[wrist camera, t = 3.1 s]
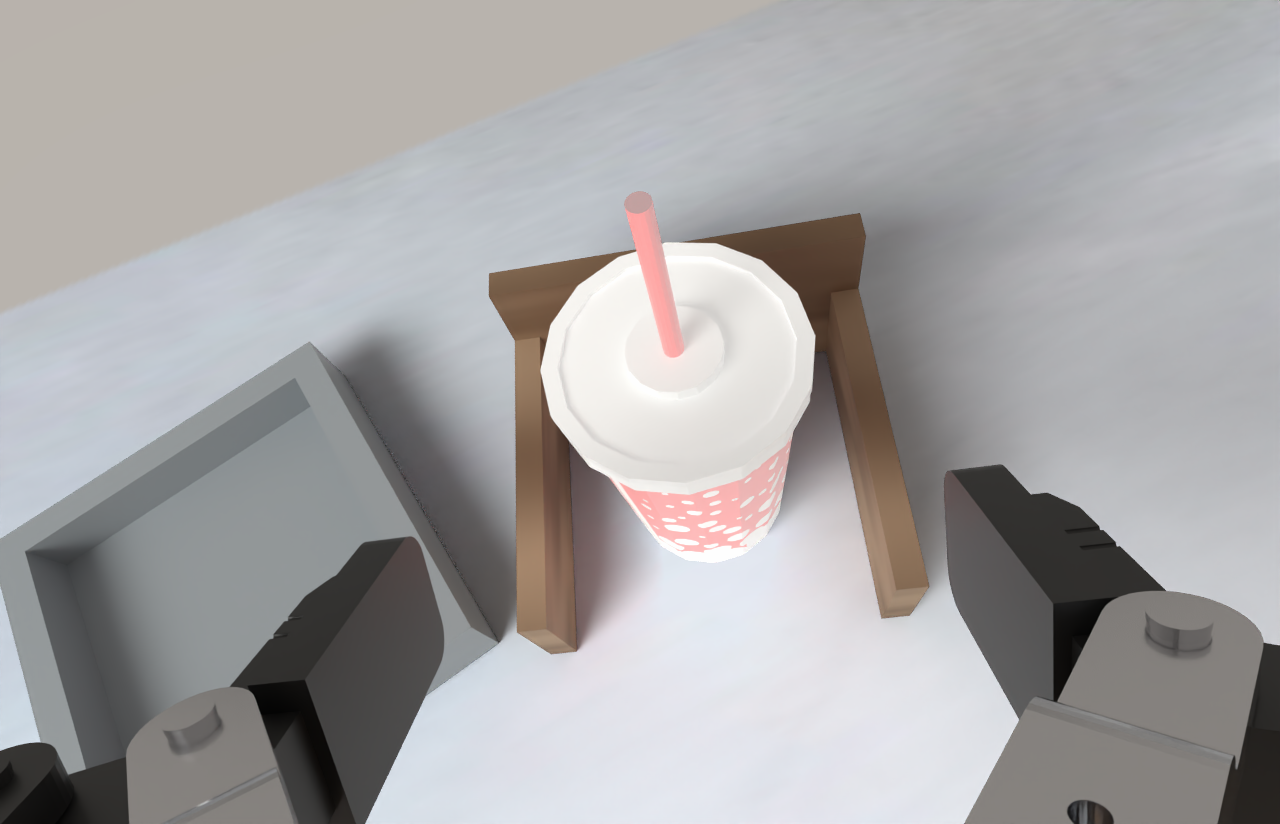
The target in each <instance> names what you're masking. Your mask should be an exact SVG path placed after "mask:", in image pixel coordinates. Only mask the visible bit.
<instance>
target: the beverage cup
mask: <svg viewBox="0 0 1280 824" xmlns="http://www.w3.org/2000/svg"><path fill="white" fill-rule="evenodd" d="M624 206H625V209H626V213H627V217H628V221H629V224H630V228H631V232H632V236H633V239H634V243H635V247H636V252H633V253H630V254H627V255H623V256H620V257H618V258H616V259H615V260H613V261H612V262H611V263H609V264H608V265H606V266H605V267H603V268H602V269H601V270H599V271H598V272H596V273H595V274H594V275H592V276H591V277H589V278H588V279H587V280H585V281H584V282H582V283H581V284H579V285H578V286H577V288H576V289H575V290H574V292H573V293H572V295H571V296H570V298H569V299H568V300H567V302H566V303H565V305H564V306H563V308H562V309H561V310H560V312H559V313H558V315H557V316H556V318H555V319H554V321H553V322H552V323H551V325H550V329H549V334H548V338H547V343H546V347H545V352H544V356H543V361H542V365H541V370H540V371H541V375H542V380H543V384H544V389H545V393H546V398H547V402H548V407H549V411H550V416H551V418H552V419H553V421H554V422H555V423H556V425H557V426H558V427H559V428H560V430H561V431H562V432H563V434H564V435H565V436H566V438H567V439H568V440H569V441H570V443H571V444H572V445H573V446H574V448H575V449H576V450H577V451H578V453H579V454H580V455H581V456H582V458H583V459H584V460H585V462H586V463H587V464H588V465H589V467H591V468H593V469H595V470H597V471H599V472H600V473H602V474H604V475H606V476H608V477H609V478H610V479H611V481H612V482H613V483H614V485H615V486H616V487H617V489H618V490H619V492H620V493H621V494H622V496H623V497H624V498H625V500H626V501H627V502H628V504H629V505H630V506H631V508H632V509H633V510H634V512H635V513H636V514H637V516H638V517H639V518H640V520H641V521H642V522H643V524H644V525H645V526H646V528H647V529H648V530H649V531H650V533H651V534H652V535H653V536H654V538H655V539H656V540H657V541H658V543H659V544H660V545H661V546H662V547H663V548H665V549H667V550H669V551H671V552H673V553H675V554H676V555H678V556H680V557H682V558H684V559H686V560H692V561H702V562H712V563H717V562H720V561H723V560H727V559H730V558H734V557H737V556H740V555H744V554H745V553H746V552H747V551H749V550H750V549H751V548H752V547H754V546H755V545H756V544H757V543H759V542H760V541H761V540H762V539H764V538H765V537H766V536H767V534H768V532H769V530H770V528H771V526H772V525H773V523H774V521H775V519H776V517H777V515H778V513H779V510H780V505H781V499H782V493H783V488H784V482H785V476H786V470H787V465H788V459H789V453H790V447H791V442H792V436H793V431H794V429H795V428H796V426H797V424H798V422H799V420H800V418H801V417H802V415H803V413H804V411H805V409H806V408H807V406H808V404H809V402H810V394H811V392H812V383H813V367H814V351H815V334H814V331H813V329H812V327H811V324H810V322H809V320H808V317H807V315H806V312H805V310H804V308H803V305H802V303H801V301H800V298H799V296H798V293H797V292H796V291H795V290H794V289H793V288H792V287H791V286H789V285H788V284H787V283H786V282H785V281H784V280H783V279H782V278H781V277H780V276H778V275H777V274H776V273H775V272H774V271H773V270H772V269H771V268H770V267H769V266H768V265H766V264H765V263H764V262H763V261H762V260H759V259H757V258H754V257H751V256H749V255H746V254H743V253H741V252H738V251H735V250H733V249H730V248H727V247H725V246H722V245H719V244H717V243H671V242H666V243H663V244H662V242H661V237H660V233H659V228H658V224H657V219H656V215H655V210H654V205H653V201H652V198H651V196H650V195H649V194H648V193H646V192H642V191H637V192H634V193H632V194H630V195H629V196H628V197H627V198H626V200H625V203H624Z"/></svg>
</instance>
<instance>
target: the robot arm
mask: <svg viewBox="0 0 1280 824" xmlns="http://www.w3.org/2000/svg"><path fill="white" fill-rule="evenodd" d="M944 498H945V519H946V539H947V559H948V573H949V580H950V585H951V589H952V593H953V597H954V600H955V603H956V606H957V608H958V610H959V612H960V614H961V616H962V618H963V619H964V621H965V623H966V625H967V627H968V628H969V630H970V632H971V634H972V636H973V637H974V639H975V641H976V643H977V645H978V646H979V648H980V650H981V652H982V654H983V655H984V657H985V659H986V661H987V662H988V664H989V666H990V668H991V670H992V671H993V673H994V675H995V677H996V679H997V680H998V682H999V684H1000V686H1001V688H1002V689H1003V691H1004V693H1005V695H1006V697H1007V698H1008V700H1009V702H1010V704H1011V705H1012V707H1013V709H1014V711H1015V713H1016V714H1017V716H1018V718H1019V722H1018V724H1017V726H1016V728H1015V729H1014V731H1013V733H1012V735H1011V737H1010V739H1009V741H1008V743H1007V744H1006V746H1005V748H1004V750H1003V752H1002V754H1001V756H1000V758H999V759H998V761H997V763H996V765H995V767H994V769H993V771H992V773H991V774H990V776H989V778H988V780H987V782H986V784H985V786H984V788H983V789H982V791H981V793H980V795H979V797H978V799H977V801H976V803H975V804H974V806H973V808H972V810H971V812H970V814H969V816H968V818H967V819H966V821H965V823H964V824H1280V645H1273V644H1267V643H1263V638H1262V635H1261V632H1260V631H1259V630H1258V628H1257V627H1256V626H1255V625H1254V624H1253V623H1252V622H1251V621H1250V620H1249V619H1248V618H1246V617H1245V616H1244V615H1242V614H1241V613H1239V612H1237V611H1236V610H1234V609H1232V608H1230V607H1228V606H1226V605H1223V604H1221V603H1218V602H1216V601H1213V600H1210V599H1207V598H1204V597H1200V596H1195V595H1191V594H1185V593H1179V592H1170V591H1166V590H1165V589H1164V588H1163V587H1162V586H1161V585H1160V584H1159V583H1157V582H1156V581H1155V580H1154V579H1153V578H1152V577H1151V576H1150V575H1149V574H1148V573H1147V572H1146V571H1145V570H1144V569H1143V568H1142V567H1141V566H1140V565H1139V564H1138V563H1137V562H1136V561H1135V560H1134V559H1133V558H1132V557H1131V556H1130V555H1128V554H1127V553H1126V552H1125V551H1124V550H1123V549H1122V548H1121V547H1120V546H1118V547H1117V546H1116V542H1115V541H1114V540H1113V539H1112V538H1111V537H1110V536H1109V535H1108V534H1107V533H1106V532H1105V531H1104V530H1100V529H1099V526H1098V525H1097V524H1096V523H1095V522H1094V521H1093V520H1092V519H1091V518H1090V517H1089V516H1088V515H1087V514H1086V513H1085V512H1084V511H1083V510H1082V509H1081V508H1080V507H1078V506H1076V505H1073V504H1071V503H1069V502H1067V501H1064V500H1062V499H1060V498H1058V497H1056V496H1053V495H1051V494H1049V493H1040V494H1032V495H1031V494H1030V493H1029V492H1028V491H1027V490H1026V489H1025V488H1024V487H1023V486H1022V485H1021V484H1020V483H1019V482H1018V480H1017V479H1016V478H1015V477H1014V476H1013V475H1012V474H1011V473H1010V472H1009V471H1008V470H1007V469H1006V468H1005V467H1004V466H1003V465H1001V464H1000V465H992V466H984V467H976V468H968V469H960V470H952V471H947V473H946V475H945V480H944ZM443 653H444V629H443V623H442V619H441V615H440V612H439V608H438V605H437V601H436V598H435V594H434V591H433V587H432V583H431V580H430V576H429V573H428V569H427V566H426V562H425V559H424V555H423V552H422V549H421V546H420V544H419V543H418V541H417V540H416V539H415V538H414V537H412V536H408V537H400V538H392V539H384V540H376V541H368V542H364V543H362V544H361V545H360V546H359V548H358V549H357V550H356V551H355V553H354V554H353V555H352V556H351V558H350V559H349V560H348V561H347V562H346V564H345V565H344V566H343V567H342V569H341V570H340V571H339V572H338V574H337V575H336V576H333V577H332V578H330V579H329V580H327V581H326V582H324V583H323V584H322V585H320V586H319V587H317V588H316V589H315V590H313V591H312V592H310V593H309V594H308V595H306V596H305V597H304V598H303V599H302V601H301V602H300V603H299V604H298V605H297V607H296V608H295V609H294V610H293V611H292V613H291V614H290V615H289V616H288V621H284V622H283V623H282V624H281V626H280V627H279V628H278V629H277V630H276V632H275V633H274V634H273V639H269V640H268V641H267V642H266V644H265V645H264V646H263V647H262V648H261V650H260V651H259V652H258V653H257V654H256V656H255V657H254V658H253V659H252V660H251V662H250V663H249V664H248V665H247V666H246V667H245V669H244V670H243V671H242V672H241V673H240V675H239V676H238V677H237V678H236V679H235V681H234V682H233V683H232V684H231V685H230V687H225V688H218V689H213V690H209V691H206V692H202V693H199V694H196V695H194V696H191V697H189V698H187V699H185V700H182V701H180V702H178V703H176V704H174V705H173V706H171V707H169V708H167V709H166V710H164V711H163V712H161V713H160V714H158V715H157V716H155V717H154V718H153V719H152V720H150V721H149V722H148V723H147V724H146V725H145V726H143V727H142V728H141V729H140V730H139V731H138V733H137V734H136V735H135V736H134V737H133V739H132V740H131V742H130V744H129V746H128V748H127V753H126V757H124V758H121V759H117V760H114V761H111V762H108V763H104V764H101V765H98V766H95V767H91V768H88V769H85V770H81V771H78V772H75V773H72V774H68V773H67V771H66V769H65V767H64V765H63V763H62V761H61V759H60V757H59V755H58V753H57V751H56V749H55V747H53V746H52V745H50V744H47V743H39V742H37V743H27V744H22V745H18V746H14V747H11V748H7V749H4V750H2V751H0V824H365V822H366V820H367V818H368V816H369V814H370V812H371V810H372V808H373V806H374V803H375V801H376V799H377V797H378V795H379V793H380V791H381V789H382V787H383V784H384V782H385V780H386V778H387V776H388V774H389V772H390V770H391V768H392V766H393V763H394V761H395V759H396V757H397V755H398V753H399V751H400V749H401V747H402V744H403V742H404V740H405V738H406V736H407V734H408V732H409V730H410V728H411V725H412V723H413V721H414V719H415V717H416V715H417V713H418V711H419V709H420V706H421V704H422V702H423V700H424V698H425V696H426V694H427V692H428V690H429V688H430V685H431V683H432V681H433V679H434V677H435V675H436V673H437V671H438V669H439V666H440V664H441V662H442V658H443Z"/></svg>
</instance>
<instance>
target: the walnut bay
mask: <svg viewBox="0 0 1280 824" xmlns="http://www.w3.org/2000/svg"><path fill="white" fill-rule="evenodd" d="M865 238H866V235H865V231H864V227H863V223H862V219H861V215H860V213H858V214H852V215H845V216H839V217H833V218H827V219H821V220H815V221H809V222H802V223H796V224H790V225H784V226H778V227H772V228H766V229H759V230H753V231H747V232H741V233H735V234H729V235H723V236H716V237H710V238H704V239H698V240H692V241H686V242H679V243H717V244H719V245H722V246H725V247H727V248H730V249H733V250H735V251H738V252H741V253H743V254H746V255H749V256H751V257H754V258H757V259H759V260H762V261H763V262H764V263H765V264H766V265H768V266H769V267H770V268H771V269H772V270H773V271H774V272H775V273H776V274H777V275H778V276H780V277H781V278H782V279H783V280H784V281H785V282H786V283H787V284H788V285H789V286H791V287H792V288H793V289H794V290H795V291H796V292H797V293H798V296H799V298H800V301H801V303H802V305H803V308H804V310H805V312H806V315H807V317H808V320H809V322H810V324H811V327H812V329H813V331H814V334H815V351H814V353H815V352H822V351H826V354H827V359H828V364H829V368H830V373H831V378H832V383H833V388H834V392H835V397H836V402H837V407H838V412H839V416H840V421H841V426H842V431H843V436H844V441H845V445H846V450H847V455H848V460H849V465H850V469H851V474H852V479H853V484H854V489H855V493H856V498H857V503H858V508H859V513H860V518H861V522H862V527H863V532H864V537H865V542H866V546H867V551H868V556H869V561H870V566H871V570H872V575H873V580H874V585H875V590H876V595H877V599H878V604H879V609H880V614H881V619H882V618H891V617H900V616H910V614H911V613H912V611H913V610H914V608H915V607H916V606H917V604H918V603H919V601H920V600H921V598H922V597H923V595H924V594H925V592H926V591H927V589H928V588H929V583H928V579H927V575H926V571H925V566H924V562H923V558H922V554H921V550H920V545H919V541H918V537H917V533H916V529H915V524H914V520H913V516H912V512H911V508H910V503H909V499H908V495H907V491H906V487H905V482H904V478H903V474H902V470H901V466H900V461H899V457H898V453H897V449H896V445H895V440H894V436H893V432H892V428H891V424H890V420H889V415H888V411H887V407H886V403H885V399H884V394H883V390H882V386H881V382H880V378H879V373H878V369H877V365H876V361H875V357H874V352H873V348H872V344H871V340H870V336H869V331H868V327H867V323H866V319H865V315H864V310H863V306H862V302H861V298H860V294H859V289H858V287H859V280H860V273H861V266H862V259H863V252H864V245H865ZM633 252H636V250H630V251H624V252H618V253H612V254H606V255H600V256H593V257H587V258H581V259H575V260H569V261H563V262H557V263H550V264H544V265H538V266H532V267H526V268H520V269H514V270H507V271H501V272H495V273H489V297H490V299H491V301H492V302H493V304H494V306H495V308H496V309H497V311H498V313H499V314H500V316H501V318H502V320H503V321H504V323H505V325H506V326H507V328H508V330H509V332H510V333H511V335H512V337H513V338H514V340H515V420H516V572H517V633H519V634H520V635H522V636H523V637H525V638H527V639H528V640H530V641H531V642H533V643H534V644H536V645H538V646H539V647H541V648H542V649H544V650H545V651H547V652H549V653H550V654H557V653H567V652H576V651H577V638H576V613H575V587H574V561H573V536H572V510H571V485H570V459H569V440H568V439H567V438H566V436H565V435H564V434H563V432H562V431H561V430H560V428H559V427H558V426H557V425H556V423H555V422H554V421H553V419H552V418H551V416H550V411H549V407H548V402H547V398H546V393H545V389H544V384H543V380H542V375H541V371H540V370H541V365H542V361H543V356H544V352H545V347H546V343H547V338H548V334H549V329H550V325H551V323H552V322H553V321H554V319H555V318H556V316H557V315H558V313H559V312H560V310H561V309H562V308H563V306H564V305H565V303H566V302H567V300H568V299H569V298H570V296H571V295H572V293H573V292H574V290H575V289H576V288H577V286H578V285H579V284H581V283H582V282H584V281H585V280H587V279H588V278H589V277H591V276H592V275H594V274H595V273H596V272H598V271H599V270H601V269H602V268H603V267H605V266H606V265H608V264H609V263H611V262H612V261H613V260H615V259H616V258H618V257H620V256H623V255H627V254H630V253H633Z"/></svg>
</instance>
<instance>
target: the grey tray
mask: <svg viewBox="0 0 1280 824" xmlns="http://www.w3.org/2000/svg"><path fill="white" fill-rule="evenodd" d="M408 536H412V537H414V538H415V539H416V540H417V541H418V543H419V544H420V546H421V549H422V552H423V555H424V559H425V562H426V566H427V569H428V573H429V576H430V580H431V583H432V587H433V591H434V594H435V598H436V601H437V605H438V608H439V612H440V615H441V619H442V623H443V629H444V653H443V658H442V662H441V664H440V666H439V669H438V671H437V673H436V675H435V677H434V679H433V681H432V683H431V685H430V688H429V690H428V692H427V694H429V693H430V692H432V691H433V690H434V689H436V688H437V687H439V686H440V685H441V684H443V683H444V682H446V681H447V680H448V679H450V678H451V677H453V676H454V675H455V674H457V673H458V672H459V671H461V670H462V669H464V668H465V667H466V666H468V665H469V664H471V663H472V662H473V661H475V660H476V659H478V658H479V657H480V656H482V655H483V654H485V653H486V652H487V651H489V650H490V649H491V648H493V647H494V646H496V645H497V644H498V643H499V642H498V640H497V638H496V637H495V635H494V633H493V632H492V630H491V628H490V626H489V625H488V623H487V621H486V619H485V618H484V616H483V614H482V612H481V611H480V609H479V607H478V606H477V604H476V602H475V600H474V599H473V597H472V595H471V593H470V592H469V590H468V588H467V587H466V585H465V583H464V581H463V580H462V578H461V576H460V574H459V573H458V571H457V569H456V568H455V566H454V564H453V562H452V561H451V559H450V557H449V555H448V554H447V552H446V550H445V548H444V547H443V545H442V543H441V542H440V540H439V538H438V536H437V535H436V533H435V531H434V529H433V528H432V526H431V524H430V523H429V521H428V519H427V517H426V516H425V514H424V512H423V510H422V509H421V507H420V505H419V503H418V502H417V500H416V498H415V497H414V495H413V493H412V491H411V490H410V488H409V486H408V484H407V483H406V481H405V479H404V478H403V476H402V474H401V472H400V471H399V469H398V467H397V465H396V464H395V462H394V460H393V459H392V457H391V455H390V453H389V452H388V450H387V448H386V446H385V445H384V443H383V441H382V439H381V438H380V436H379V434H378V433H377V431H376V429H375V427H374V426H373V424H372V422H371V420H370V419H369V417H368V415H367V414H366V412H365V410H364V408H363V407H362V405H361V403H360V401H359V400H358V398H357V396H356V395H355V393H354V391H353V389H352V388H351V386H350V384H349V382H348V381H347V379H346V377H345V376H344V375H343V374H342V373H341V372H340V371H339V370H338V369H337V368H336V367H335V366H334V365H333V364H332V363H331V362H330V361H329V360H328V359H327V358H326V357H325V356H324V355H323V354H322V353H321V352H320V351H319V350H318V349H317V348H316V347H315V346H314V345H312V344H311V343H310V342H308V343H306V344H305V345H303V346H302V347H300V348H299V349H297V350H296V351H294V352H292V353H291V354H289V355H288V356H286V357H285V358H283V359H281V360H280V361H278V362H277V363H275V364H274V365H272V366H270V367H269V368H267V369H266V370H264V371H263V372H261V373H260V374H258V375H256V376H255V377H253V378H252V379H250V380H249V381H247V382H245V383H244V384H242V385H241V386H239V387H238V388H236V389H234V390H233V391H231V392H230V393H228V394H227V395H225V396H223V397H222V398H220V399H219V400H217V401H216V402H214V403H213V404H211V405H209V406H208V407H206V408H205V409H203V410H202V411H200V412H198V413H197V414H195V415H194V416H192V417H191V418H189V419H187V420H186V421H184V422H183V423H181V424H180V425H178V426H176V427H175V428H173V429H172V430H170V431H169V432H167V433H166V434H164V435H162V436H161V437H159V438H158V439H156V440H155V441H153V442H151V443H150V444H148V445H147V446H145V447H144V448H142V449H140V450H139V451H137V452H136V453H134V454H133V455H131V456H130V457H128V458H126V459H125V460H123V461H122V462H120V463H119V464H117V465H115V466H114V467H112V468H111V469H109V470H108V471H106V472H104V473H103V474H101V475H100V476H98V477H97V478H95V479H93V480H92V481H90V482H89V483H87V484H86V485H84V486H83V487H81V488H79V489H78V490H76V491H75V492H73V493H72V494H70V495H68V496H67V497H65V498H64V499H62V500H61V501H59V502H57V503H56V504H54V505H53V506H51V507H50V508H48V509H47V510H45V511H43V512H42V513H40V514H39V515H37V516H36V517H34V518H32V519H31V520H29V521H28V522H26V523H25V524H23V525H21V526H20V527H18V528H17V529H15V530H14V531H12V532H10V533H9V534H7V535H6V536H4V537H3V538H1V539H0V586H1V590H2V594H3V598H4V601H5V605H6V609H7V613H8V617H9V621H10V625H11V629H12V632H13V636H14V640H15V644H16V648H17V652H18V656H19V660H20V663H21V667H22V671H23V675H24V679H25V683H26V687H27V691H28V694H29V698H30V702H31V706H32V710H33V714H34V718H35V722H36V725H37V729H38V733H39V737H40V741H41V743H47V744H50V745H52V746H53V747H55V749H56V751H57V753H58V755H59V757H60V759H61V761H62V763H63V765H64V767H65V769H66V771H67V773H68V774H72V773H75V772H78V771H81V770H85V769H88V768H91V767H95V766H98V765H101V764H104V763H108V762H111V761H114V760H117V759H121V758H124V757H126V753H127V748H128V746H129V744H130V742H131V740H132V739H133V737H134V736H135V735H136V734H137V733H138V731H139V730H140V729H141V728H142V727H143V726H145V725H146V724H147V723H148V722H149V721H150V720H152V719H153V718H154V717H155V716H157V715H158V714H160V713H161V712H163V711H164V710H166V709H167V708H169V707H171V706H173V705H174V704H176V703H178V702H180V701H182V700H185V699H187V698H189V697H191V696H194V695H196V694H199V693H202V692H206V691H209V690H213V689H218V688H225V687H230V685H231V684H232V683H233V682H234V681H235V679H236V678H237V677H238V676H239V675H240V673H241V672H242V671H243V670H244V669H245V667H246V666H247V665H248V664H249V663H250V662H251V660H252V659H253V658H254V657H255V656H256V654H257V653H258V652H259V651H260V650H261V648H262V647H263V646H264V645H265V644H266V642H267V641H268V640H269V639H273V634H274V633H275V632H276V630H277V629H278V628H279V627H280V626H281V624H282V623H283V622H284V621H288V616H289V615H290V614H291V613H292V611H293V610H294V609H295V608H296V607H297V605H298V604H299V603H300V602H301V601H302V599H303V598H304V597H305V596H306V595H308V594H309V593H310V592H312V591H313V590H315V589H316V588H317V587H319V586H320V585H322V584H323V583H324V582H326V581H327V580H329V579H330V578H332V577H333V576H336V575H337V574H338V572H339V571H340V570H341V569H342V567H343V566H344V565H345V564H346V562H347V561H348V560H349V559H350V558H351V556H352V555H353V554H354V553H355V551H356V550H357V549H358V548H359V546H360V545H361V544H362V543H364V542H368V541H376V540H384V539H392V538H400V537H408ZM427 694H426V695H427Z"/></svg>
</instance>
